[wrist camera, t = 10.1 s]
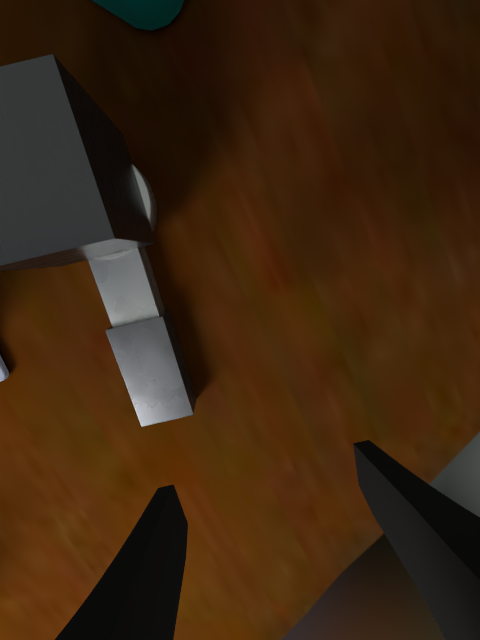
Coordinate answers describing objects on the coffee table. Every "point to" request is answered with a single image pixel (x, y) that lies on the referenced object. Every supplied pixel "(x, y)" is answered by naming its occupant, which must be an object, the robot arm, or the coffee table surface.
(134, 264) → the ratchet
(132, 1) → the teal green bottle
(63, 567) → the coffee table surface
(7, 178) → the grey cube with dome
